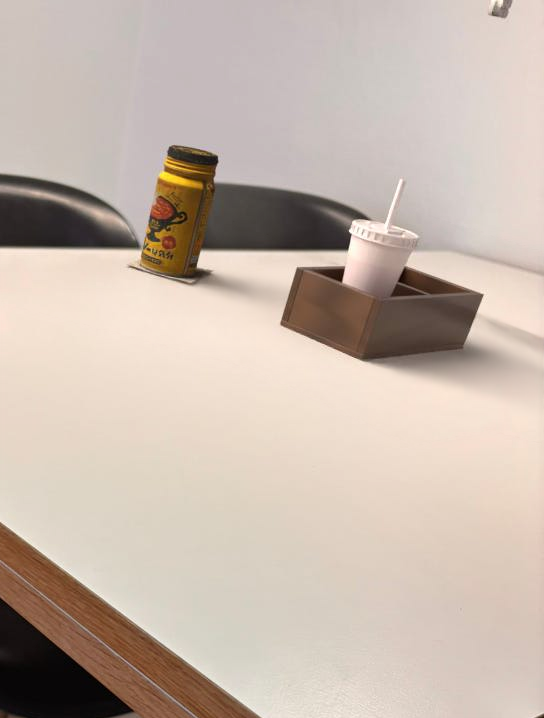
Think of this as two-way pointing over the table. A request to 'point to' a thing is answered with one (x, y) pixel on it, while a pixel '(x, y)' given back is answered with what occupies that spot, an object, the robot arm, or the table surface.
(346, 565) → the table surface
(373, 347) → the box
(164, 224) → the condiment
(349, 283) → the smoothie
